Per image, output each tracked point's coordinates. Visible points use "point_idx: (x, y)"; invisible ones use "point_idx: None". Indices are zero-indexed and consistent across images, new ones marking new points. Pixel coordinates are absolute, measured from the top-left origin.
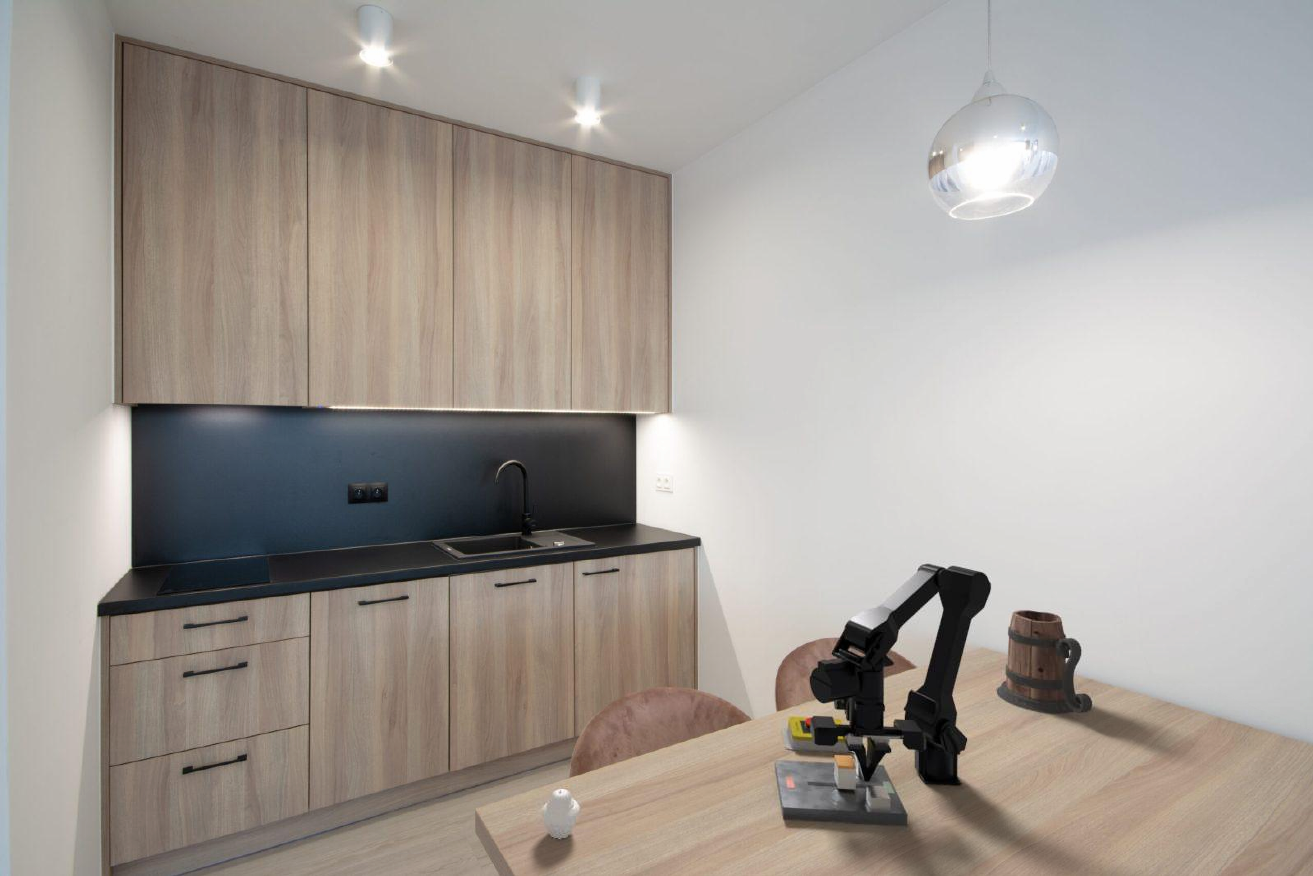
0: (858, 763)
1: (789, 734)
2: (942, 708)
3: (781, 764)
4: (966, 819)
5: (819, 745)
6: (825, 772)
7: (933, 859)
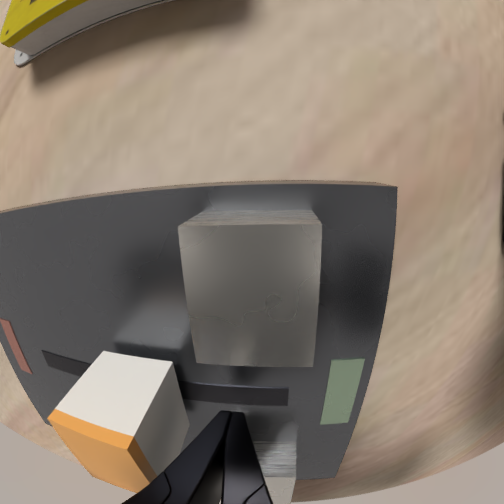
0: (179, 457)
1: None
2: None
3: None
4: (485, 394)
5: (91, 12)
6: (71, 296)
7: (335, 493)
